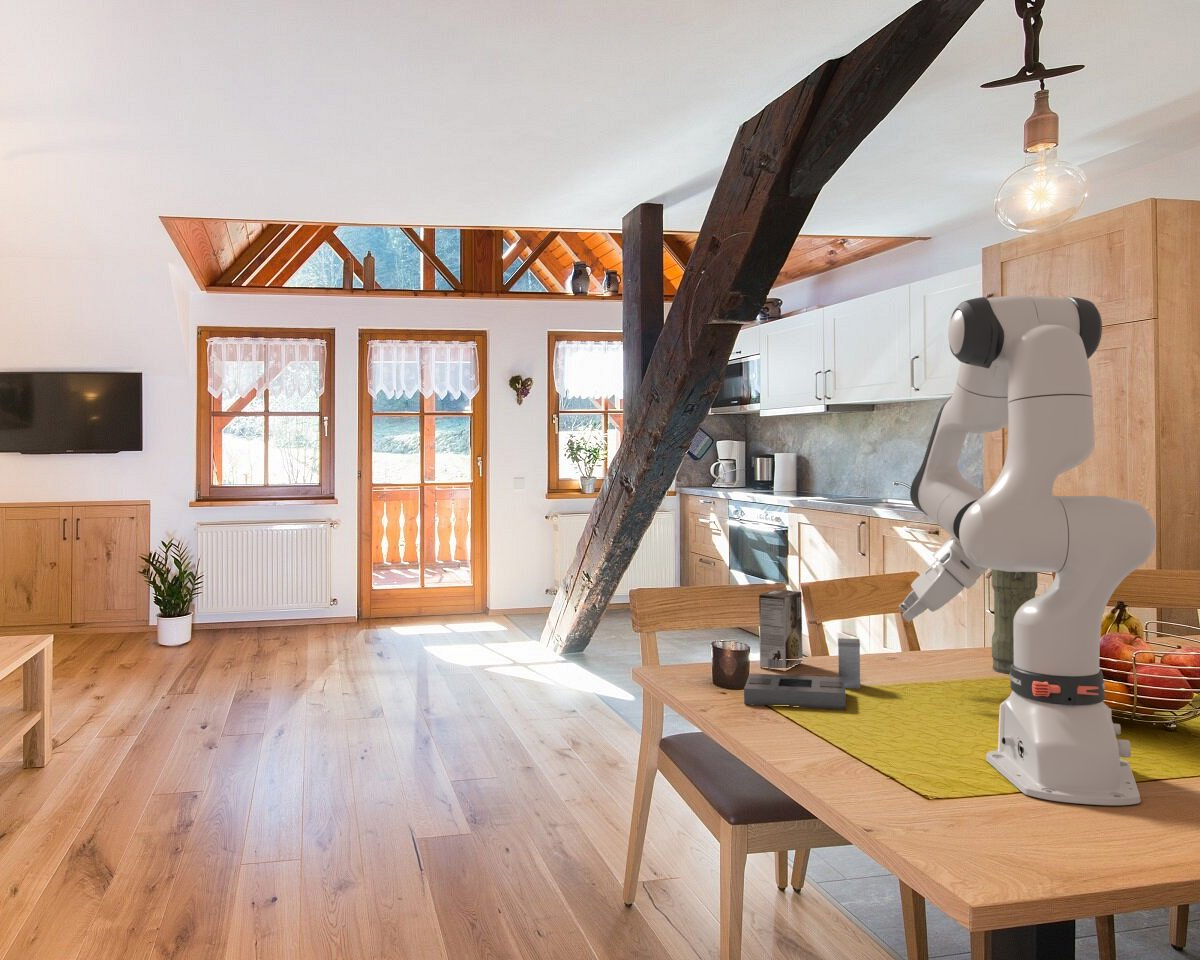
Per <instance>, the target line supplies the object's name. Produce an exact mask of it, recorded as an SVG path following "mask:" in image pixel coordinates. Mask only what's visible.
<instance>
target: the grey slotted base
mask: <svg viewBox="0 0 1200 960" xmlns="http://www.w3.org/2000/svg"><path fill="white" fill-rule="evenodd" d="M743 704H754V705H753V706H759V705H789V706H799V707H808V708H807V709H817V708H822V710H836V709H837V711H838V710H839V711H841V710H843V711H846V709H847V708H846V706H847V705H846V688H845V679H844V677H839V676H838V677H837V676H819V675H818V676H817V675H797V674H796V675H793V674H792V675H791V674H771V673H749V675H748V677H747V680H746V682H745V685H744V687H743Z"/></svg>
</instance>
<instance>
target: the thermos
mask: <svg viewBox="0 0 1200 960" xmlns="http://www.w3.org/2000/svg"><path fill="white" fill-rule="evenodd" d="M990 570H991V587H992V589H993V602H994V603H993V608H994V609H993V610H994V611H993V612H994V613H993V614H994V615H993V616H994V617H993V618H994V620H993V621H994V622H993V623H994V626H993V627H994V631H993V633H992V636H991V657H992V670H993V669H994V670H993V671H995V672H997V673H1002V674H1006V675H1007V674H1008V675H1010V672H1011V665H1012V664H1013V663H1014V621H1013V619H1014V616H1015V614H1016V612H1017V610H1018V609H1019V608H1020V607H1021V606H1022V605H1023V604H1024V603H1025V602H1027V601H1029V600H1030V599H1033V598H1035V597H1036V591H1037V589H1038V572H1006V571H1000V570H994V569H990Z"/></svg>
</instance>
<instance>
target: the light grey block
mask: <svg viewBox="0 0 1200 960" xmlns="http://www.w3.org/2000/svg"><path fill="white" fill-rule="evenodd" d="M837 645H838V646H837V647H838V655H837V656H838V657H837V658H838V677H844V679H845V689H852V690H853V689H855V688H856V689H857V690H859V689H861V652H860V651H861V650H860V649H861V641H860V639H859V638H843V637H842V638H840V637H838V638H837Z"/></svg>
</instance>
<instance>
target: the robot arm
mask: <svg viewBox="0 0 1200 960" xmlns="http://www.w3.org/2000/svg"><path fill="white" fill-rule="evenodd" d="M947 335H948V343H949V349H950V352H951V354H952V355H953V357H954V358H956V359H957V360H958V361H959V362H960V365H959V368H958V373H957V378H956V383H955V387H954V391H953V393H952V395H950V396H949V397H948V398H946V400H945V401H944V402H943V404H942V405H941V407H940V409H939V411H938V413H937V417H936V420H935V422H934V425H933V428H932V430H931V431H932V432H931V434H930V438H929V441H928V444H927V448H926V451H925V454H924V457H923V460H922V463H921V465H920V467H919V469H918V471H917V472H916V475H915V477H914V478H913V480H912V483H911V485H910V491H909V496H910V500H911V503H912V505H913V506H914V507H915V508H916V509H917V510H918V511H920V512H922V513H923V514H925V515H926V516H928V517H929V518H930V519H931V520H933V521H934V522H935V523H936V524H937V525H938V526H939V527H941V528H942V529H943V530H945V531H946V532H947V533H948V534H949V535H950V536H951V537H950V538H948V539H947V540H946V541H945V542H944V543H943V544H942V545H941V546H940V547H939V548H938V549H937V550H936V551H934V552H933V554H932V557H933V558H935V559H936V560H935V561H934V562H933V563H932V564H931V565H930V566H929V567H927V568H926V570H924V571H923V572H922V573H921V574H919V576H917V577H916V578H915V579H914V580H913V581H912V583H911V584H910V587H911V588H912V590H911V592H909V593H908V594H907V596H906V597H905V599H904V600H903V601H902V602H901V603H900V604H899V605H898V609H899V610H900V611H901V614H902V615H901V616H902V618H903V619H904V620H905V621H906V622H907V623H910V622H911V621H913V620H914V619H915V618H916V617H918V616H919V615H921V614H922V613H924V612H925V611H926V610H927V609H928V610H929V611H930V612H932V613H934V612H937V611H938V610H940V609H941V608H942V607H944V606H945V605H947V603H949V602H950V601H951V600H953V599H954V598H955V597H957V595H959V594H960V593H961V592H962V591H963V590H964V589H967V590H969V589H970V588H971V587H973V586H974V585H975V584H976V582H977V580H979V578H980V577H981V576H982V575H983V574H985V573H986V572H987V571H988V569H990V570H991V569H994V570H1000V571H1006V572H1037V573H1055V576H1054V579H1053V581H1052V583H1051V586H1050V587H1049V588H1047V590H1046V591H1045V592H1043V593H1042V594H1039V595H1037V596H1035V598H1033V599H1030V600H1029V601H1027V602H1025V603H1024V604H1023V605H1022V606H1021V607H1020V608H1019V609H1018V610H1017V612H1016V614H1015V616H1014V619H1013V621H1014V663H1013V664H1012V665H1011V672H1010V674H1009V679H1010V689H1011V690H1012V691H1011V693H1010V695H1008V696H1007V698H1006V699H1005V700H1004V701H1002V702H1001V703H1000V704H999V712H998V713H999V717H998V738H997V739H998V740H997V741H998V744H997V749H996V750H990V751H988V752H986V756H985V757H986V758H985V761H986V762H988V763H989V765H991V766H992V767H993V768H994V769H995V770H997V771H998V772H999V773H1000V774H1001V775H1002V776H1003V777H1005V779H1007V780H1008V781H1009V782H1010V783H1011V784H1012V785H1013V786H1015V788H1017V789H1018V791H1020V792H1022V793H1023V794H1024V795H1026V796H1029V797H1034V798H1038V799H1042V800H1048V801H1054V802H1060V803H1061V802H1062V803H1070V804H1081V805H1096V806H1130V805H1136V804H1137V805H1138V804H1141V795H1140V791H1139V789H1138V788H1139V787H1138V786H1137V782H1136V779H1135V777H1134V774H1133V770H1132V768H1131V765H1130V763H1129V761H1127V760H1125V759H1121V758H1128V759H1129V758H1131V757H1132V756H1131V754H1132V747H1131V740H1128V739H1120V738H1117V735H1121V731H1122V730H1121V729H1122V727H1121V724H1120V723H1114V722H1113V719H1112V709H1111V708H1110V707H1109V706H1108V705H1106V704H1105V700H1106V692H1105V689H1106V686H1105V685H1106V683H1105V680H1104V675H1103V671H1102V670H1101V669H1100V650H1101V649H1100V648H1101V647H1100V646H1101V634H1102V623H1103V617H1104V614H1105V611H1106V607H1107V605H1108V602H1109V601H1110V599H1111V597H1112V595H1113V594H1114V592H1115V591H1116V589H1117V588H1118V586H1119V585H1120V584H1121V583H1122V581H1123V580H1125V579H1126V577H1128V576H1129V575H1130V574H1132V572H1134V571H1135V570H1136V569H1138V568H1140V567H1142V566H1143V565H1144V564H1145V563H1146V562H1147V561H1148V560H1149V558H1150V557H1151V555H1152V553H1153V552H1154V549H1155V547H1156V543H1157V530H1156V529H1157V528H1156V525H1155V522H1154V519H1153V517H1152V516H1151V515H1150V513H1149V511H1148V510H1147V509H1146V508H1145V506H1143V504H1141V503H1139V502H1138V501H1135V500H1129V499H1125V498H1120V497H1113V496H1109V495H1108V496H1107V495H1053V488H1054V483H1055V481H1056V479H1057V478H1058V476H1059V475H1062V474H1064V473H1066V472H1068V471H1070V470H1073V469H1074V468H1076V467H1078V466H1080V465H1081V464H1082V463H1084V462H1085V461H1086V460H1088V458H1089V457H1090V456H1091V455H1092V453H1093V450H1094V448H1095V423H1094V421H1095V420H1094V404H1093V403H1094V399H1093V388H1092V387H1093V385H1092V377H1091V372H1090V365H1089V359H1090V358H1091V357H1092V356H1093V354H1094V353H1095V352H1097V350H1098V348H1099V346H1100V343H1101V339H1102V335H1103V323H1102V316H1101V313H1100V311H1099V310H1098V308H1097V306H1096V305H1095V304H1094V302H1093V301H1090V300H1087V299H1084V298H1079V297H1073V296H1066V297H1064V298H1063V297H1056V296H1055V297H1054V296H1043V295H1042V296H1039V295H1037V296H1035V295H1032V296H1031V295H1028V294H1020V295H1018V294H1017V295H1004V296H996V297H995V296H994V297H989V298H986V297H984V296H980V297H975V298H972V299H967V300H964V301H962V302H960V303H959V304H958V305H957V306H956V308H955V309H954V310H953V312H952V314H951V317H950V321H949V324H948V333H947ZM1007 427H1008V428H1007ZM1005 428H1007V429H1008V430H1007V431H1008V432H1007V448H1006V454H1005V455H1006V456H1005V461H1004V464H1003V465H1002V466H1003V467H1002V469H1001V472H1000V473H999V476H998V477H997V479H996V480H995V482H994V483H993V485H992V486H991V487H990V489H988V490H987V491H986V492H985V491H981V490H980V489H979V488H977V487H975V486H974V485H973V484H972V483H970V482H969V481H968V480H967V479H965V477H963V475H962V474H961V472H960V470H959V467H958V462H959V458H960V456H961V453H962V450H963V446H964V444H965V441H966V438H967V436H968V434H969V433H972V434H981V433H982V434H983V433H984V434H985V433H993V432H996V431H1000V430H1003V429H1005Z"/></svg>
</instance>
